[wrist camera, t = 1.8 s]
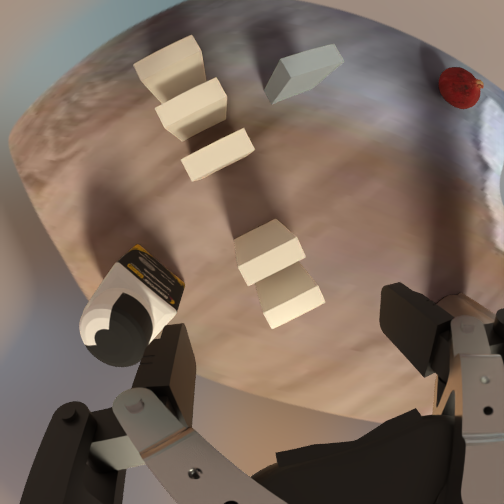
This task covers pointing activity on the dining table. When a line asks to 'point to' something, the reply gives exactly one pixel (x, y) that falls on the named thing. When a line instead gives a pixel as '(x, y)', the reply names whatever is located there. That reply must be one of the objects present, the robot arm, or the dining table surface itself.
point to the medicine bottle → (130, 308)
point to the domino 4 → (302, 72)
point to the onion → (459, 87)
